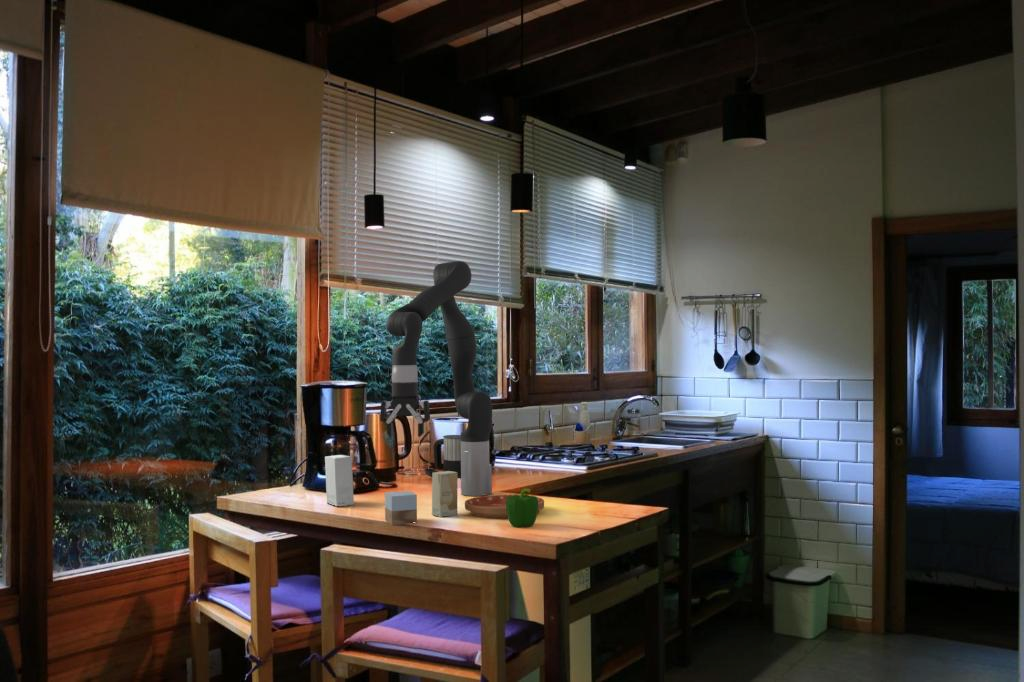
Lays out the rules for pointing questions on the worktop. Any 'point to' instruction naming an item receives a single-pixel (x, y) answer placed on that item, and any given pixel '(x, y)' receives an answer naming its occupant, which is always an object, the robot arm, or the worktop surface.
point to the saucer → (492, 506)
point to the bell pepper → (522, 509)
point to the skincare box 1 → (339, 480)
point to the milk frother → (447, 455)
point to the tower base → (400, 516)
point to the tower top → (400, 501)
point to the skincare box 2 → (444, 493)
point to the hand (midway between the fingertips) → (405, 436)
